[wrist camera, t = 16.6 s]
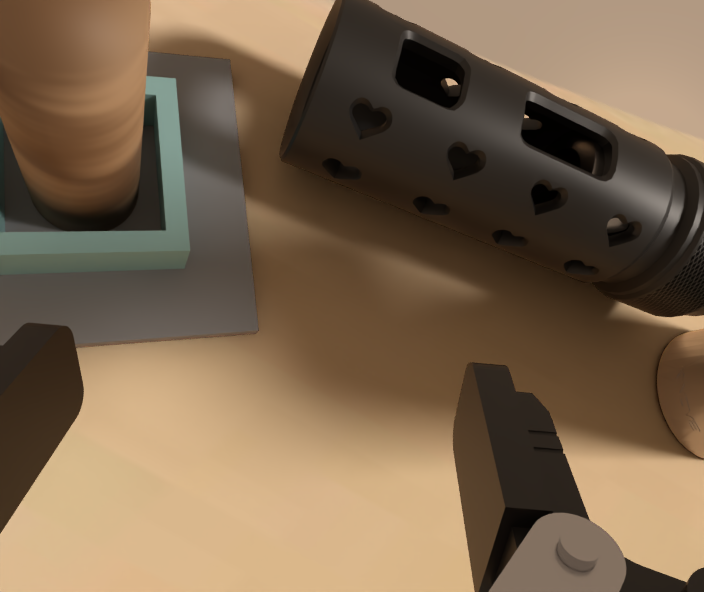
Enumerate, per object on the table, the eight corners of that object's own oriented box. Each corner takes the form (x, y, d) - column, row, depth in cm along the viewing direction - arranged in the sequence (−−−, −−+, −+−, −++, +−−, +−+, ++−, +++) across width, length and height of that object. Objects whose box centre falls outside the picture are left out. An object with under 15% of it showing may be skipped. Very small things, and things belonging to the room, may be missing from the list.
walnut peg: (136, 143, 30) (146, -68, 18) (140, 234, 29) (155, 79, 17) (28, 137, 29) (-47, -103, 16) (29, 234, 28) (-50, 60, 15)
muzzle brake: (302, 68, 37) (362, -62, 27) (645, 223, 44) (784, 163, 35) (261, 198, 34) (313, 102, 24) (637, 342, 41) (788, 310, 32)
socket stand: (227, 69, 35) (239, 25, 31) (254, 333, 31) (271, 318, 28) (-100, 39, 29) (-132, -20, 25) (-107, 361, 25) (-146, 347, 22)
